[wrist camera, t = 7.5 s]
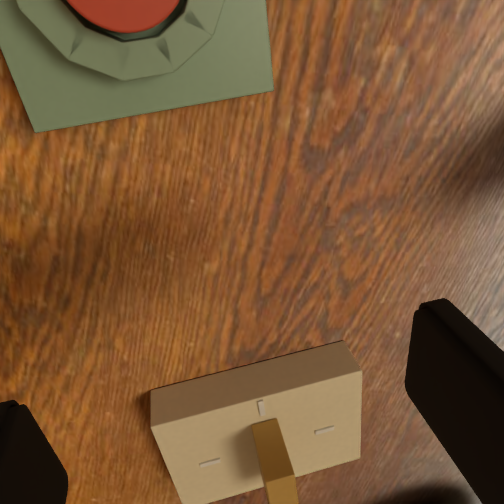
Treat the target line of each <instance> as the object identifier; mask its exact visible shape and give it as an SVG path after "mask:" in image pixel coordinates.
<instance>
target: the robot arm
mask: <svg viewBox="0 0 504 504" xmlns="http://www.w3.org/2000/svg"><path fill="white" fill-rule="evenodd" d="M405 388H406V391H407V394H408V396H409V397H410V399H411V400H412V402H413V403H414V405H415V406H416V408H417V409H418V410H419V412H420V413H421V415H422V416H423V418H424V419H425V421H426V422H427V424H428V425H429V426H430V428H431V429H432V431H433V432H434V434H435V435H436V437H437V438H438V440H439V441H440V442H441V444H442V445H443V447H444V448H445V450H446V451H447V453H448V454H449V456H450V457H451V459H452V460H453V461H454V463H455V464H456V466H457V467H458V469H459V470H460V472H461V473H462V475H463V476H464V477H465V479H466V480H467V482H468V483H469V485H470V486H471V488H472V489H473V491H474V492H475V493H476V495H477V496H478V498H479V499H480V501H481V502H482V504H504V352H503V351H502V350H501V349H500V348H499V347H498V346H497V345H496V344H495V343H494V342H493V341H492V340H490V339H489V338H488V337H487V336H486V335H485V334H484V333H483V332H482V331H481V330H480V329H479V328H478V327H477V326H476V325H475V324H473V323H472V322H471V321H470V320H469V319H468V318H467V317H466V316H465V315H464V314H463V313H462V312H461V311H460V310H459V309H458V308H456V307H455V306H454V305H453V304H452V303H451V302H450V301H449V300H447V299H445V298H442V299H437V300H433V301H429V302H425V303H421V305H420V306H419V310H416V311H415V312H414V317H413V324H412V332H411V339H410V346H409V354H408V361H407V368H406V376H405ZM67 491H68V476H67V472H66V470H65V469H64V467H63V465H62V464H61V462H60V460H59V459H58V457H57V455H56V454H55V452H54V450H53V449H52V447H51V445H50V444H49V442H48V440H47V439H46V437H45V435H44V434H43V432H42V431H41V429H40V427H39V426H38V424H37V422H36V421H35V419H34V417H33V416H32V414H31V412H30V411H29V409H28V407H27V406H26V405H24V404H22V405H19V404H18V403H17V402H16V401H15V400H10V401H6V402H1V403H0V504H65V503H66V497H67Z"/></svg>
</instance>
